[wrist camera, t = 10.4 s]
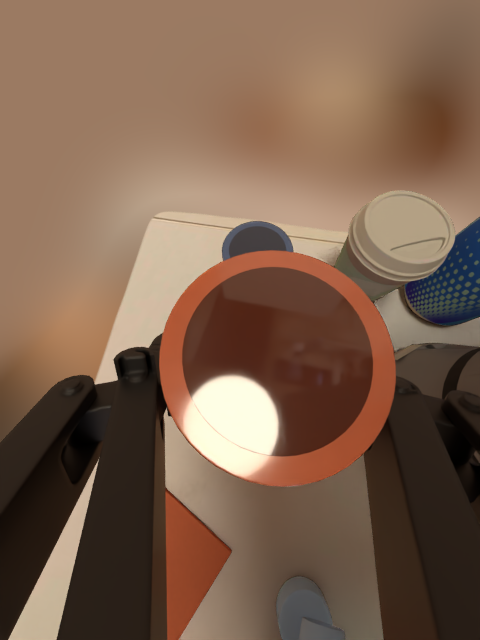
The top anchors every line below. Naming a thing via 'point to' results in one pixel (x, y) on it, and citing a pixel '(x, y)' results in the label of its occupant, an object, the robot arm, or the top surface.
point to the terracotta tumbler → (277, 368)
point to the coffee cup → (395, 242)
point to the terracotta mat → (188, 564)
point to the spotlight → (304, 612)
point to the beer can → (451, 283)
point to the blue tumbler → (255, 239)
